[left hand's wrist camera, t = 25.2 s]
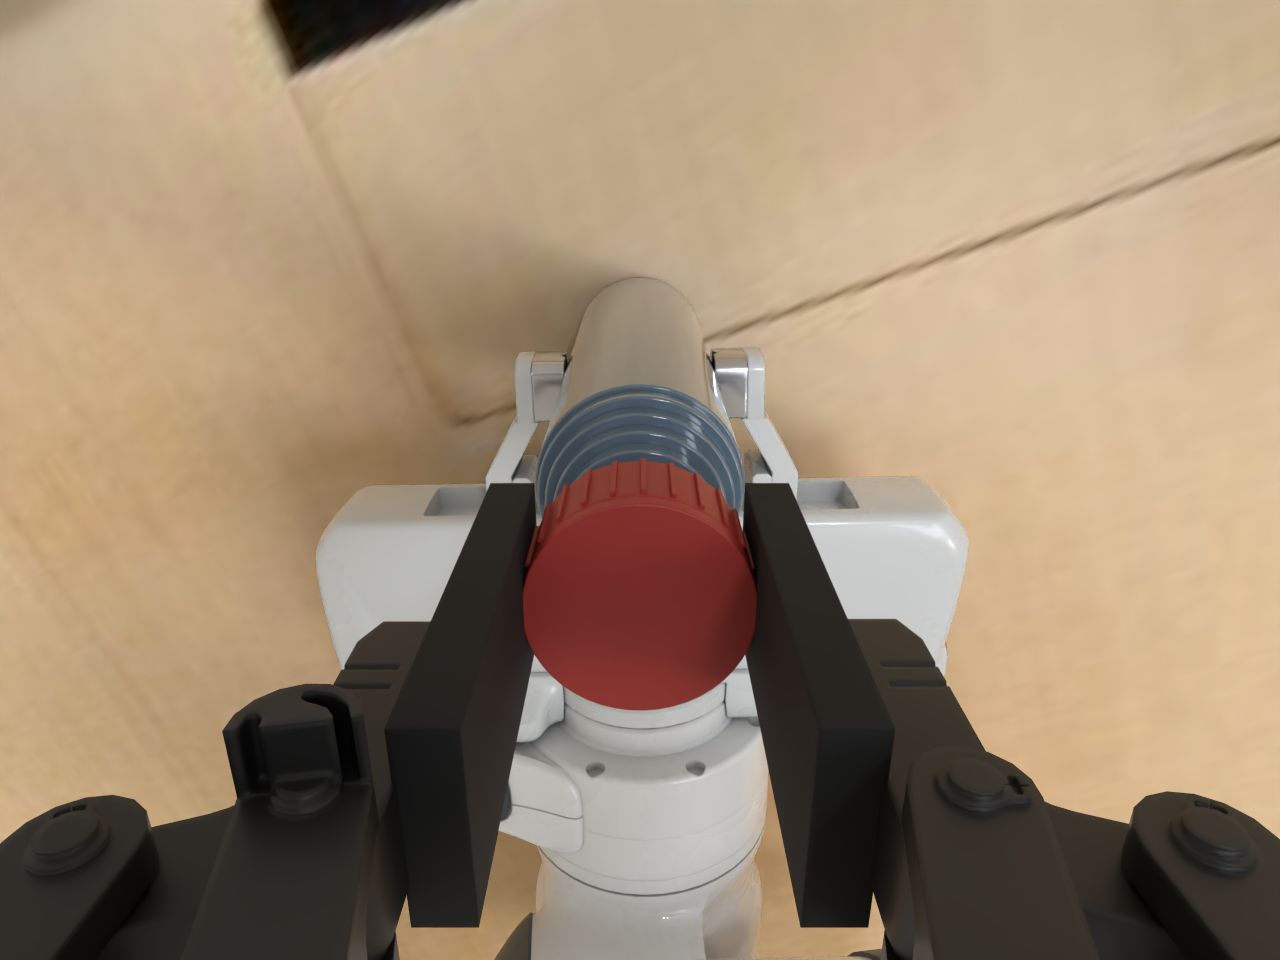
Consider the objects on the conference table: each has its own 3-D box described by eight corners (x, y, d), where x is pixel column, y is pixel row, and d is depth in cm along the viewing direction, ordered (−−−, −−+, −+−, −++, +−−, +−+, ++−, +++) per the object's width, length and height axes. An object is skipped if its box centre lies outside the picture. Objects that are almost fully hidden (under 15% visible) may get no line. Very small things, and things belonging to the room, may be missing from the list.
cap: (526, 641, 15) (512, 705, 14) (536, 446, 14) (521, 489, 12) (732, 657, 16) (743, 722, 14) (762, 465, 14) (780, 511, 12)
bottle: (650, 419, 32) (662, 744, 15) (555, 349, 31) (450, 610, 14) (725, 328, 31) (833, 567, 14) (628, 251, 30) (613, 405, 13)
